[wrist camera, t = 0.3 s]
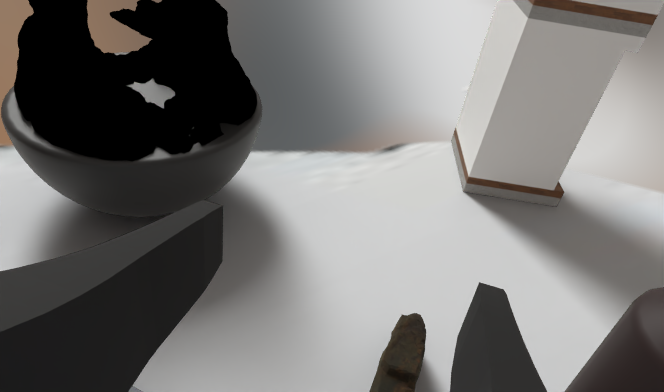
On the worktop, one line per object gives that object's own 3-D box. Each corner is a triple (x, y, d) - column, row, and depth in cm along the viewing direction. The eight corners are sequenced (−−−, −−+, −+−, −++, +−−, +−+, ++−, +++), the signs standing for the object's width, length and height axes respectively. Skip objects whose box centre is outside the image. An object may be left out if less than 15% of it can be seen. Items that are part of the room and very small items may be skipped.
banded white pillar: (556, 206, 54) (765, -189, 33) (463, 191, 54) (614, -216, 33) (531, 153, 63) (682, -182, 43) (451, 140, 63) (564, -203, 42)
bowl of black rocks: (286, 240, 44) (309, 33, 32) (30, 294, 35) (-58, 40, 24) (226, 130, 57) (227, -42, 46) (31, 150, 49) (-24, -54, 38)
